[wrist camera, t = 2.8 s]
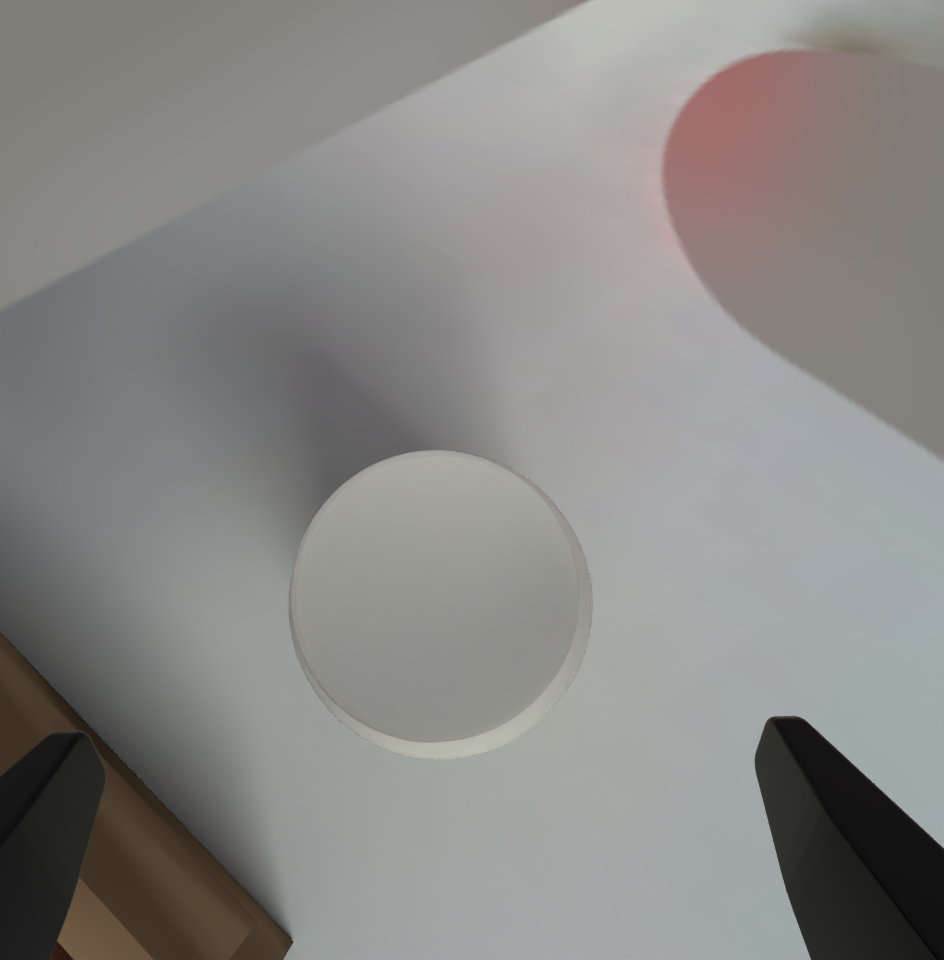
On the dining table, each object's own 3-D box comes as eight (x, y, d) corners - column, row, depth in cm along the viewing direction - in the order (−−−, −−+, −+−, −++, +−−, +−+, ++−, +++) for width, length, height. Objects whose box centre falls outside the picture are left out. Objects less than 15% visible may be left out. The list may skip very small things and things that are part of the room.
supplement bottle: (401, 753, 18) (325, 881, 9) (318, 565, 19) (170, 495, 10) (584, 658, 19) (705, 681, 9) (494, 481, 20) (517, 336, 10)
